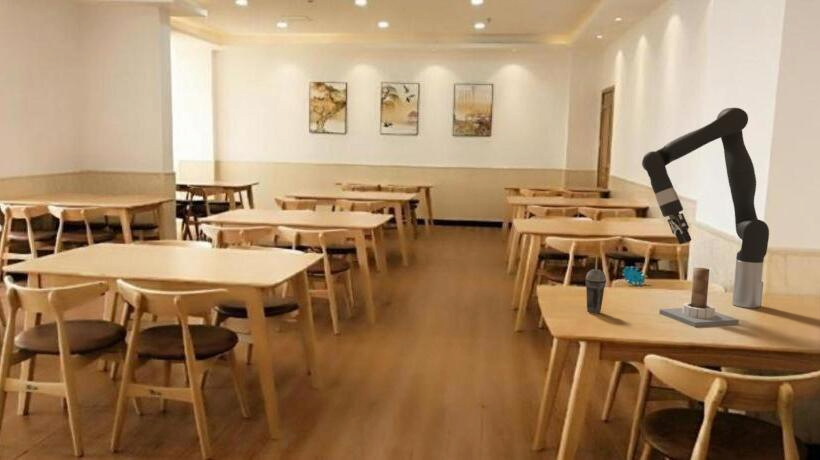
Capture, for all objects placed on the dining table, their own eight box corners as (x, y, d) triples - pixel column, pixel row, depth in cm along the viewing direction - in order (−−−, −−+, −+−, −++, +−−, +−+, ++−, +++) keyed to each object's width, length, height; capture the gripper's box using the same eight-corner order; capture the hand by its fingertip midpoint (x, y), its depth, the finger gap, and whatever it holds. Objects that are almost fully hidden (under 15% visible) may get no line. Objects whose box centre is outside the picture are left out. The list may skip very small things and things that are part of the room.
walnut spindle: (698, 312, 238) (702, 267, 236) (709, 315, 233) (712, 270, 231) (687, 312, 237) (690, 267, 235) (697, 316, 232) (700, 270, 230)
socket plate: (700, 311, 246) (702, 298, 246) (738, 324, 229) (739, 311, 229) (659, 313, 241) (660, 301, 240) (694, 327, 224) (695, 313, 223)
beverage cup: (605, 311, 241) (609, 256, 239) (602, 315, 235) (606, 259, 232) (585, 308, 244) (588, 254, 242) (581, 313, 238) (584, 257, 235)
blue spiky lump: (625, 282, 286) (622, 263, 292) (619, 290, 290) (616, 270, 296) (650, 286, 287) (646, 267, 293) (643, 293, 292) (639, 274, 298)
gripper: (683, 195, 246) (700, 237, 244) (673, 201, 260) (690, 240, 258) (663, 202, 247) (680, 244, 244) (654, 208, 261) (671, 247, 258)
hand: (685, 242), depth 251 cm, fingers open, 8 cm apart
